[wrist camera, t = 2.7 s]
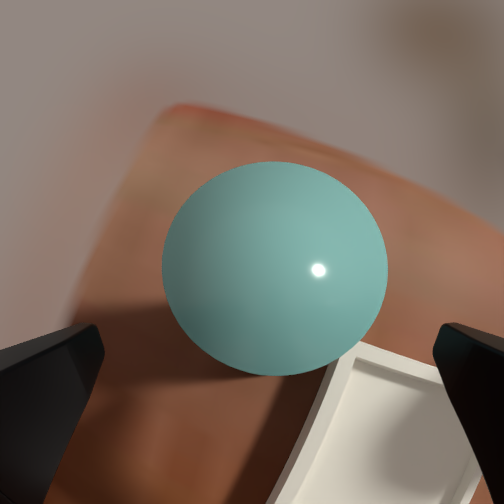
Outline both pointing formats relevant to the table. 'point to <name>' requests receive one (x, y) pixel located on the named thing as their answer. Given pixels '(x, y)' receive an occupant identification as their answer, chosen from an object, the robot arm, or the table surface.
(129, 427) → the table surface
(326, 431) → the tray
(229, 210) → the teal cylinder
